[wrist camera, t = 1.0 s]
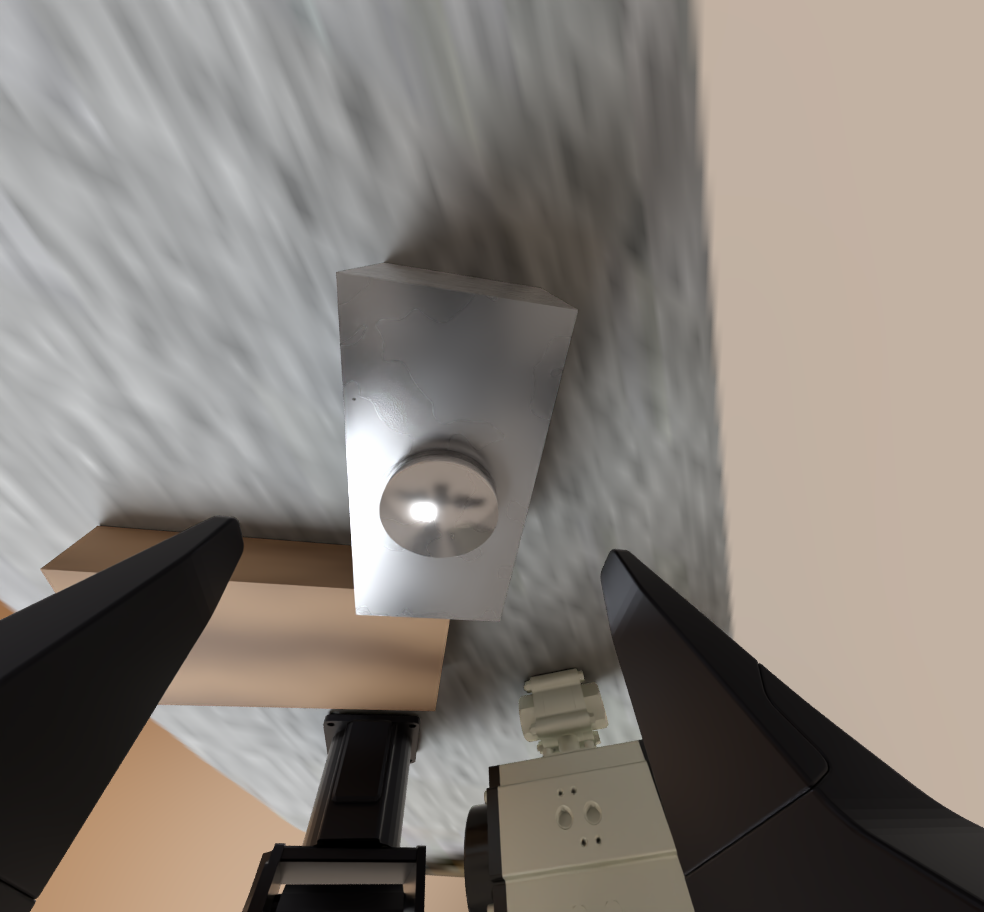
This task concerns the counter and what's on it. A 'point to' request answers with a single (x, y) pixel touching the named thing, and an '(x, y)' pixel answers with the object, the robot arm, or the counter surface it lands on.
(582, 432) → the counter surface
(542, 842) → the pneumatic valve
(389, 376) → the housing
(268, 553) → the walnut stand
